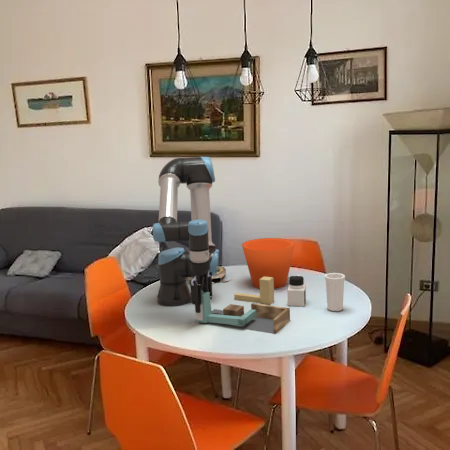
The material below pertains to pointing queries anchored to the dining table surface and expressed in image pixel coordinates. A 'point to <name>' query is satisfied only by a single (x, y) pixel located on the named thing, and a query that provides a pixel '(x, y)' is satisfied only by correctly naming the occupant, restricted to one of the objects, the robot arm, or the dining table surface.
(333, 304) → the cup
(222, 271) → the pie
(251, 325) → the runner mat
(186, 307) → the dining table surface
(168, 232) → the robot arm
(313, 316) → the dining table surface
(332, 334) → the dining table surface
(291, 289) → the medicine bottle
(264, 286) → the yellow l-shaped block
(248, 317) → the crook
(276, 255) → the flowerpot
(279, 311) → the wooden l-shaped bracket
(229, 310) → the walnut block
